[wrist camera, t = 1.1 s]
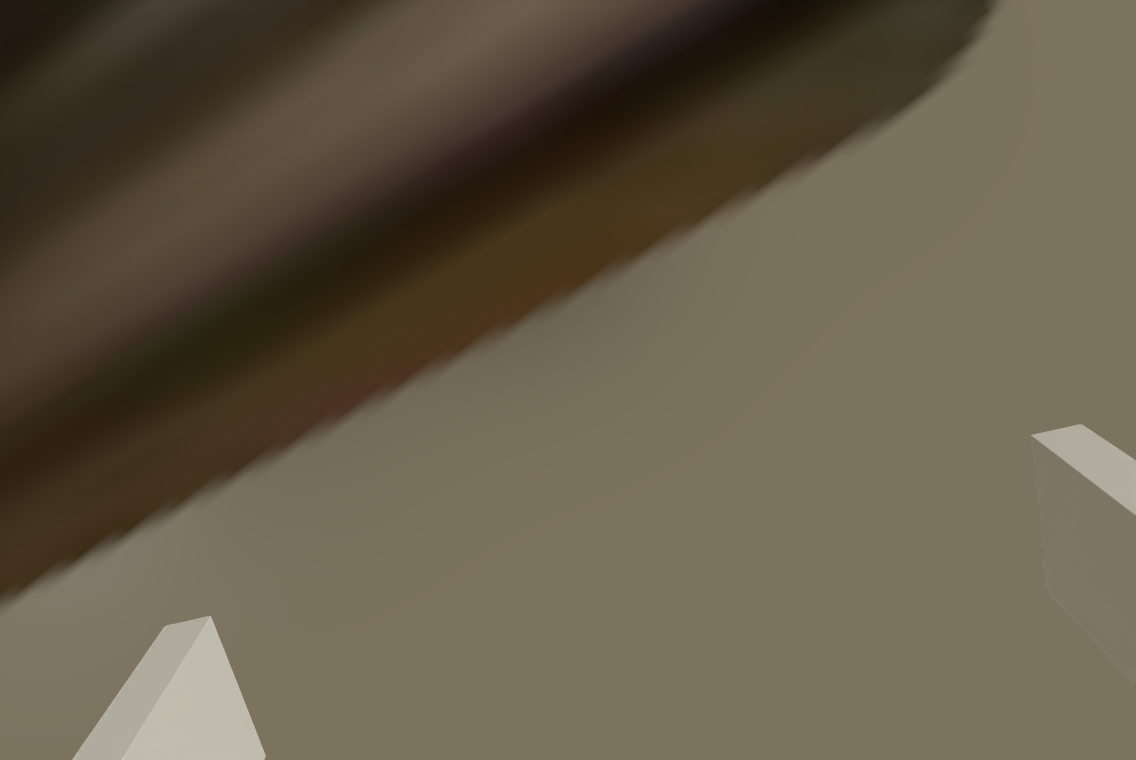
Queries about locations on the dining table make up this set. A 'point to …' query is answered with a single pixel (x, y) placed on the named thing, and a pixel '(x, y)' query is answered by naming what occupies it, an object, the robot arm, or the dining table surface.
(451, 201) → the dining table surface
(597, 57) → the dining table surface
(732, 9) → the dining table surface
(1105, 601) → the robot arm
